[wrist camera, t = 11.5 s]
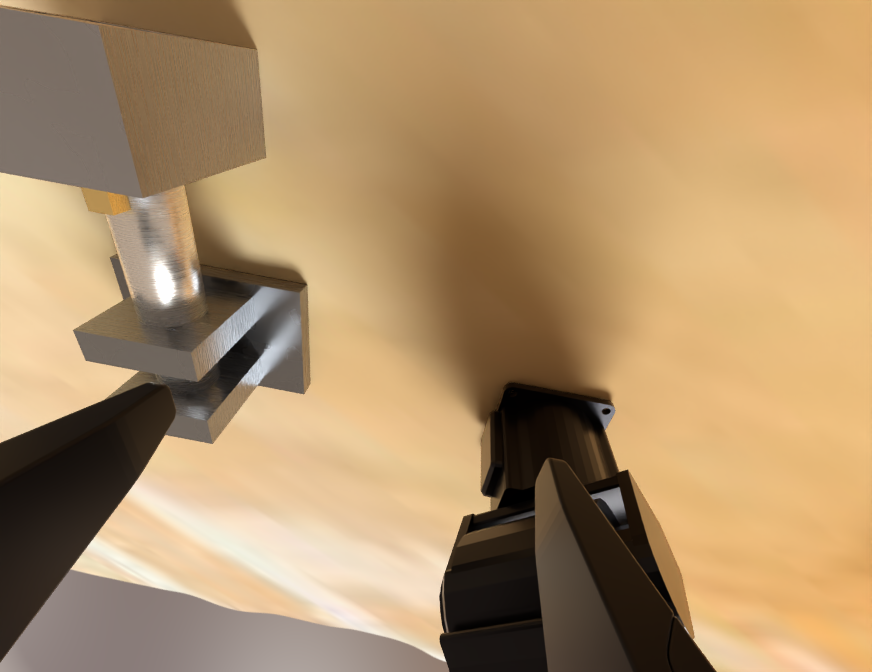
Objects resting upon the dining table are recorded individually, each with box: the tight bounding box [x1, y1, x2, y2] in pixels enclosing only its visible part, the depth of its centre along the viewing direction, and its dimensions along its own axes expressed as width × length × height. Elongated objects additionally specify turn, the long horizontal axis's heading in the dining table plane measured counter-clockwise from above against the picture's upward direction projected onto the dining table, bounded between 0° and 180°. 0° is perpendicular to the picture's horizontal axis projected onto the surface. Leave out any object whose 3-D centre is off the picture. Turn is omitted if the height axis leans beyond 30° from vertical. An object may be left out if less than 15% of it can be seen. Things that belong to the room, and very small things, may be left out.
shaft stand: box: [45, 14, 310, 444], centre depth 18 cm, size 10×17×6 cm, turn 172°
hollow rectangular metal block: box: [0, 5, 266, 198], centre depth 14 cm, size 6×4×8 cm, turn 82°
